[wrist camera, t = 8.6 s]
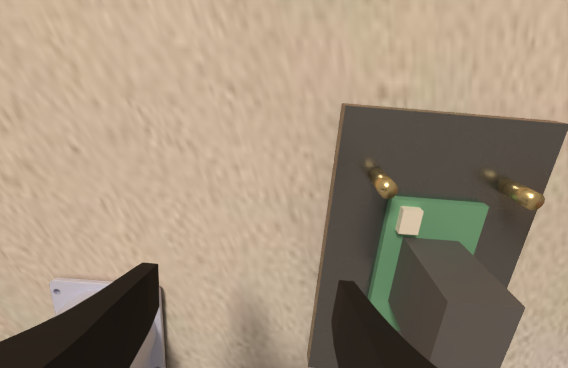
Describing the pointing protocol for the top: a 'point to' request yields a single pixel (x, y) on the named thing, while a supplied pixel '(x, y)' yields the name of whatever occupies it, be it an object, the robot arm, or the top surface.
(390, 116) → the chassis plate
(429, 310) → the board
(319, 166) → the top surface
